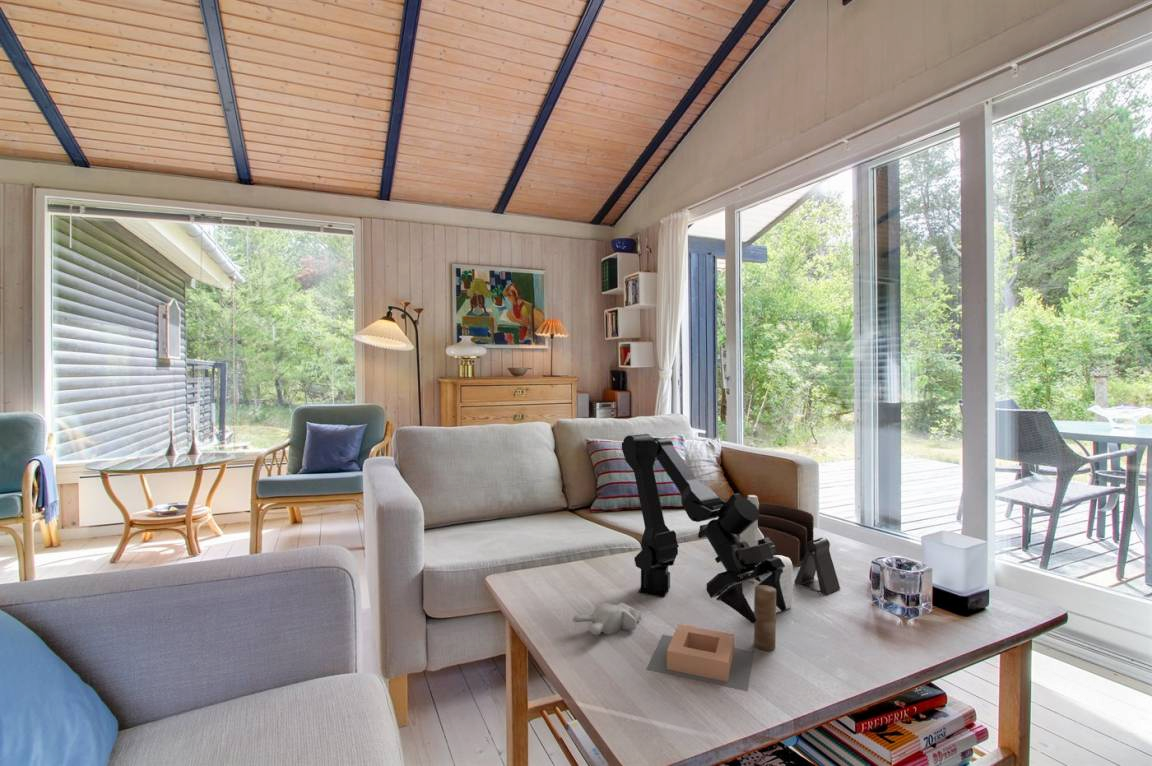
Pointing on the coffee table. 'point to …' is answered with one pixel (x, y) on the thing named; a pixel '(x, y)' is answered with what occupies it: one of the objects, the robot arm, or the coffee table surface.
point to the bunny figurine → (611, 618)
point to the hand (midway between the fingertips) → (770, 616)
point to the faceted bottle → (752, 530)
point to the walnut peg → (765, 618)
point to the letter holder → (786, 529)
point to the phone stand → (818, 568)
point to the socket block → (701, 652)
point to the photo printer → (783, 582)
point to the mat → (736, 677)
